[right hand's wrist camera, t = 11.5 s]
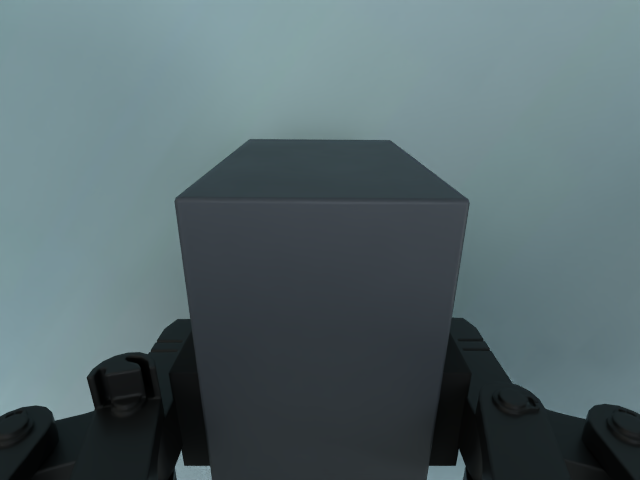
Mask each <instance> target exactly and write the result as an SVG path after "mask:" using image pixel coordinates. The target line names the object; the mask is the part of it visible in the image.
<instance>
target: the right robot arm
mask: <svg viewBox="0 0 640 480" xmlns="http://www.w3.org/2000/svg"><path fill="white" fill-rule="evenodd" d="M87 380H88V384H89V388H90V391H91V395H92V399H93V403H94V406H95V410H94V411H92V412H89V413H86V414H82V415H78V416H74V417H69V418H65V419H61V420H57V421H55V420H54V417H53V414H52V412H51V411H50V410H49V409H48V408H47V407H42V406H29V407H22V408H19V409H16V410H13V411H11V412H8V413H6V414H4V415H2V416H0V480H177V479H176V472H175V465H176V462H177V460H178V457H179V455H180V452H181V449H182V455H183V460H184V466H210V460H209V453H208V445H207V438H206V430H205V423H204V416H203V408H202V401H201V393H200V386H199V379H198V371H197V364H196V356H195V349H194V341H193V334H192V327H191V319H177V320H176V321H175V322H173V323H172V324H171V325H169V326H168V327H167V328H165V329H164V331H163V332H162V334H161V335H160V337H159V338H158V340H157V343H155V344H154V346H153V347H152V349H151V352H149V354H144V353H140V352H135V353H125V354H121V355H117V356H114V357H112V358H110V359H107V360H105V361H103V362H102V363H100V364H99V365H98V366H96V367H95V368H94V369H93V370H92V371H91V372H90V374H89V375H88V376H87ZM458 450H460V452H461V455H462V457H463V460H464V462H465V465H466V467H465V472H464V478H463V480H640V414H638V413H636V412H634V411H632V410H629V409H626V408H623V407H620V406H616V405H609V404H602V405H595V406H594V407H593V408H591V409H590V410H589V412H588V415H587V418H586V419H582V418H578V417H573V416H569V415H565V414H561V413H556V412H553V411H550V410H547V409H545V408H544V406H543V404H542V403H541V401H540V400H539V399H538V398H537V397H536V396H535V395H534V394H532V393H531V392H530V391H528V390H526V389H524V388H522V387H520V386H519V385H515V384H512V382H511V381H510V379H509V378H508V376H507V375H506V373H505V371H504V370H503V368H502V367H501V365H500V364H499V362H498V361H497V359H496V358H495V356H494V355H493V353H492V352H491V351H490V350H489V347H488V345H487V344H486V342H485V341H483V338H482V336H481V335H480V333H479V332H478V330H477V329H476V327H474V326H473V325H471V324H470V323H469V322H467V321H466V320H465V319H463V318H452V319H451V325H450V332H449V338H448V345H447V351H446V358H445V364H444V371H443V377H442V383H441V390H440V396H439V403H438V409H437V416H436V422H435V428H434V435H433V441H432V448H431V454H430V461H429V466H456V462H457V456H458Z"/></svg>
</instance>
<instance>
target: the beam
mask: <svg viewBox="0 0 640 480" xmlns="http://www.w3.org/2000/svg"><path fill="white" fill-rule="evenodd" d="M175 208H176V215H177V223H178V230H179V238H180V245H181V252H182V260H183V267H184V275H185V282H186V290H187V297H188V304H189V312H190V319H191V327H192V334H193V341H194V349H195V356H196V364H197V371H198V379H199V386H200V393H201V401H202V408H203V416H204V423H205V430H206V438H207V445H208V453H209V460H210V468H211V475H212V480H427V473H428V467H429V461H430V454H431V448H432V441H433V435H434V428H435V422H436V416H437V409H438V403H439V396H440V390H441V383H442V377H443V371H444V364H445V358H446V351H447V345H448V338H449V332H450V325H451V319H452V313H453V306H454V300H455V293H456V287H457V280H458V274H459V268H460V261H461V255H462V248H463V242H464V235H465V229H466V223H467V216H468V210H469V200H468V199H467V198H466V197H464V196H463V195H462V194H460V193H459V192H458V191H456V190H455V189H454V188H452V187H451V186H450V185H449V184H447V183H446V182H445V181H443V180H442V179H441V178H439V177H438V176H437V175H435V174H434V173H433V172H431V171H430V170H429V169H427V168H426V167H425V166H424V165H422V164H421V163H420V162H418V161H417V160H416V159H414V158H413V157H412V156H410V155H409V154H408V153H406V152H405V151H404V150H402V149H401V148H400V147H398V146H397V145H396V144H395V143H393V142H392V141H390V140H285V139H250V140H248V141H247V142H246V143H244V144H243V145H242V146H241V147H239V148H238V149H237V150H235V151H234V152H233V153H232V154H230V155H229V156H228V157H227V158H225V159H224V160H223V161H222V162H220V163H219V164H218V165H217V166H215V167H214V168H213V169H211V170H210V171H209V172H208V173H206V174H205V175H204V176H203V177H201V178H200V179H199V180H198V181H196V182H195V183H194V184H193V185H191V186H190V187H189V188H187V189H186V190H185V191H184V192H182V193H181V194H180V195H179V196H177V197H176V199H175Z"/></svg>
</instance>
